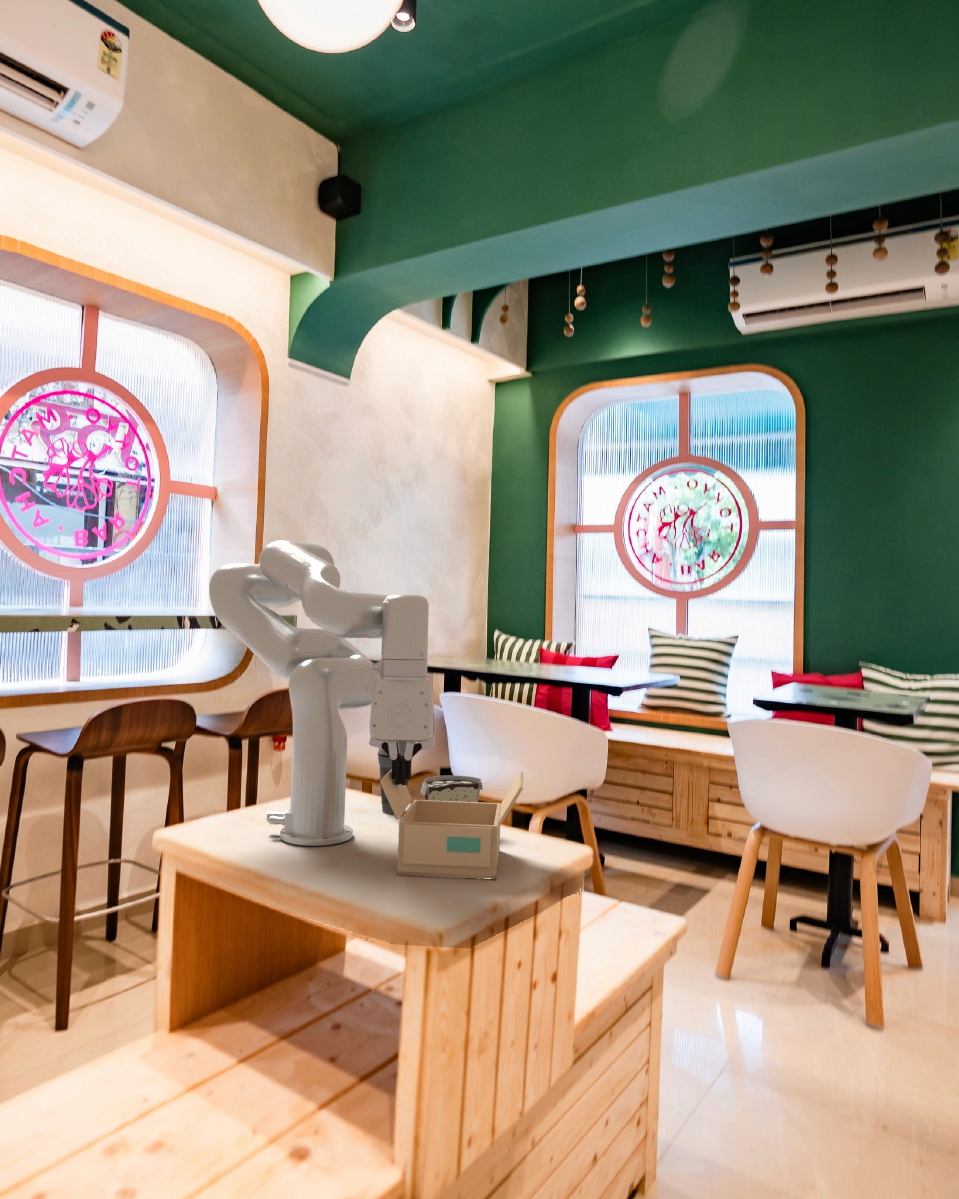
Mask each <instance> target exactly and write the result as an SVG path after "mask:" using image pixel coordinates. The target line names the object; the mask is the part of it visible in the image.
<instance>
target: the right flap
mask: <svg viewBox="0 0 959 1199" xmlns="http://www.w3.org/2000/svg"><path fill="white" fill-rule="evenodd" d="M523 789H524V771H522V770H521V771H519V774H518V775H517V776H516V778H515V780H514V782H513V783H512V785H511V786H510V788H509V790H508V791H507V793H506V794H505V796H504V798H503V799H502V802H501V809H500V816H499V823H500V825H502V824H503V823H504V820H505V819H506V818H507V816H508V814H509V812H510V811H511V809H512V807H513V806H514V805H515V803H516V801H517V799H518V797H519V796H520V795H521V794H522V793H521V792H522V791H523Z"/></svg>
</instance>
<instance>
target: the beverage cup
mask: <svg viewBox="0 0 959 1199" xmlns="http://www.w3.org/2000/svg"><path fill="white" fill-rule="evenodd" d="M398 743H399V752H400V754H401V757H402V759H403V756H404V755H405V749H406V744H407V742H398ZM377 757H378V760H377V761H378V765H379V773H380V774H379V776H380V777H379V778H380V780H381V779H382V778H383V777H384V776H385V775H386V774H387V773H388V772H389V771H390V770H391V769H392V759H390V756H389V755H388V754H387V753H386V752H385V751H384V750H383V749H381V748H378V751H377ZM380 780H379V781H380ZM408 784H409V779H408V780H407V783H406V786H407V788H408ZM380 796H381V797H380V798H381V800H380V801H381V802H380V803H381V810H382V811H383V812H382V813H384V812H385V813H384V814H388V813H389V814H390V815H395V814H394V812H393V810H392V808H391V806H390V803H389V801H388V799H387V797H386V795H385V792H384V790H383V788H382V786H381V785H380ZM389 814H388V815H389Z"/></svg>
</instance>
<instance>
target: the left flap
mask: <svg viewBox="0 0 959 1199" xmlns="http://www.w3.org/2000/svg"><path fill="white" fill-rule="evenodd" d="M379 783H380V787H381V786H382V788H383V790H384V792H385V795H386V797H387V799H388V801H389V803H390V806H391V808H392V810H393V812H394V814H393V815H394V816H395V819H396V820H399V819H401V818H402V817H403V815H404V814H405V812H406V811H407V809H408V808H409V806H410V805H411V803H412V802H413V797H412V795H411V793H410V791H409V789H408V787H407V786H406V785H402V784H399V785H395V779H392V769H391V770H390V771H389V772H388V773H387V774H386V775H385V776H384V777H383V778H382V779H381V780H379Z"/></svg>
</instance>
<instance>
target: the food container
mask: <svg viewBox="0 0 959 1199" xmlns="http://www.w3.org/2000/svg"><path fill="white" fill-rule="evenodd" d="M483 789H484V788H483V783H482V779H481V778H479V777H475V776H467V775H455V774H454V775H450V774H449V775H447V774H446V775H434V776H429V777H425V779H424V780H423V783H422V784H421V788H420V794H421V795H423V796H424V800H435V801H458V802H479V800H480V792H481V790H483Z"/></svg>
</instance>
